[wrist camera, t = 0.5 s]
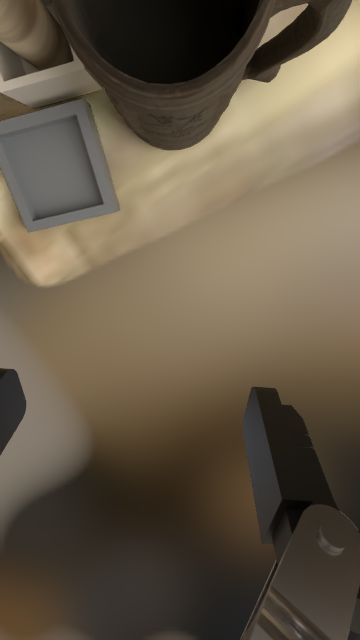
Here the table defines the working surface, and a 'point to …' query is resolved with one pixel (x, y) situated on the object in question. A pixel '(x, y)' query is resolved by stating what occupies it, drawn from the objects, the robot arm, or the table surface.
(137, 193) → the table surface
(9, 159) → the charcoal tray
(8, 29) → the birch pin
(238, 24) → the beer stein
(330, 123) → the table surface
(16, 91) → the light grey square box
